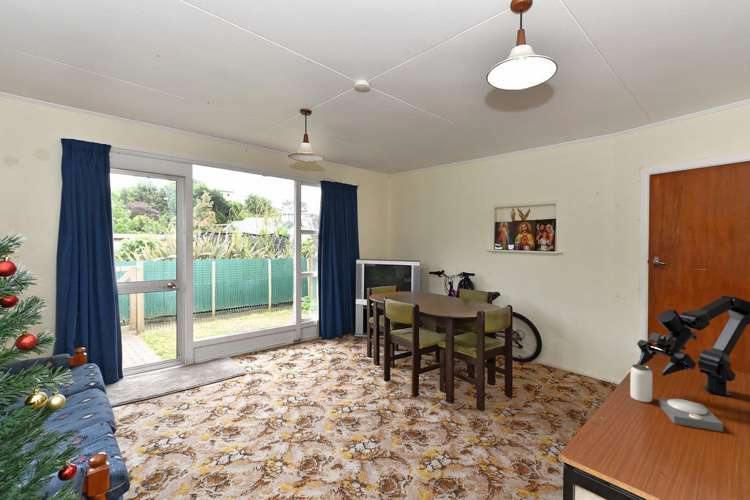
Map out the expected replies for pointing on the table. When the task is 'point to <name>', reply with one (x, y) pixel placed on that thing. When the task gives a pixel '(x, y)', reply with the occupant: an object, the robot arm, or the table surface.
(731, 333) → the robot arm
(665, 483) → the table surface
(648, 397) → the can
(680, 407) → the scale
